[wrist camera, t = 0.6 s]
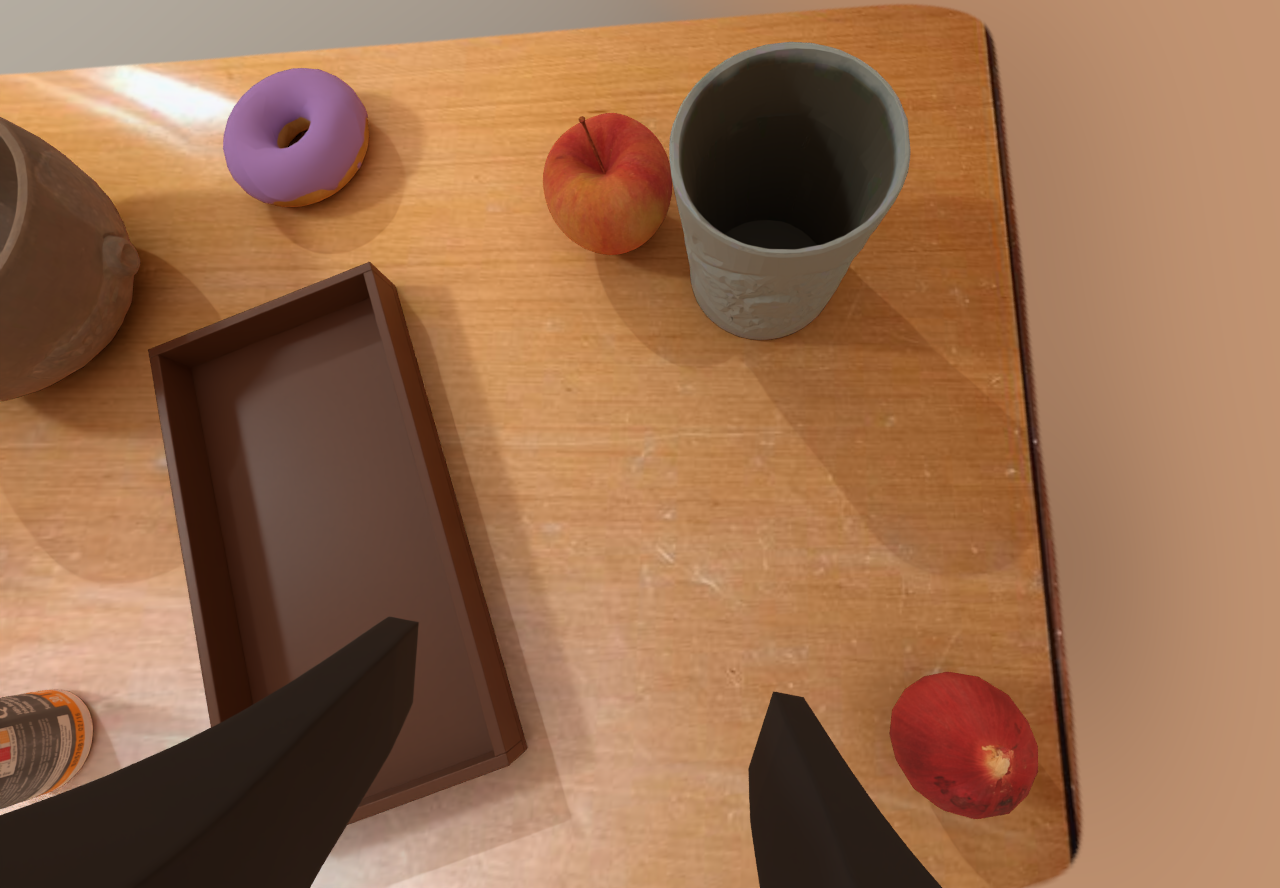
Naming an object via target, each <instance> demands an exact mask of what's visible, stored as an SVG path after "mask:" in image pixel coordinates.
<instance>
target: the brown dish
mask: <svg viewBox="0 0 1280 888" xmlns="http://www.w3.org/2000/svg"><path fill="white" fill-rule="evenodd" d="M148 352H149V357H150V363H151V369H152V375H153V381H154V387H155V393H156V399H157V405H158V412H159V418H160V424H161V430H162V436H163V442H164V448H165V454H166V460H167V466H168V472H169V478H170V484H171V490H172V496H173V502H174V508H175V514H176V520H177V526H178V532H179V538H180V544H181V550H182V556H183V562H184V568H185V574H186V580H187V586H188V592H189V598H190V604H191V610H192V616H193V622H194V628H195V634H196V640H197V646H198V652H199V658H200V664H201V670H202V676H203V682H204V688H205V694H206V700H207V706H208V712H209V718H210V724H211V727H213V726H215V725H217V724H219V723H221V722H223V721H225V720H227V719H228V718H230V717H232V716H234V715H236V714H238V713H239V712H241V711H243V710H245V709H246V708H248V707H250V706H252V705H253V704H255V703H257V702H258V701H260V700H262V699H263V698H265V697H267V696H268V695H270V694H272V693H273V692H275V691H277V690H278V689H280V688H282V687H283V686H285V685H287V684H288V683H290V682H291V681H293V680H295V679H296V678H298V677H299V676H301V675H302V674H304V673H305V672H307V671H308V670H310V669H311V668H313V667H314V666H316V665H318V664H319V663H321V662H322V661H324V660H325V659H327V658H328V657H330V656H331V655H333V654H334V653H336V652H337V651H338V650H340V649H341V648H343V647H344V646H346V645H347V644H349V643H350V642H352V641H353V640H355V639H356V638H357V637H359V636H360V635H362V634H363V633H365V632H366V631H368V630H369V629H370V628H372V627H373V626H375V625H376V624H378V623H379V622H381V621H382V620H384V619H386V618H387V617H389V616H390V617H395V618H400V619H405V620H410V621H415V622H419V626H418V640H417V654H416V668H415V681H414V695H413V704H412V706H411V708H410V711H409V713H408V715H407V717H406V720H405V722H404V724H403V726H402V729H401V731H400V733H399V735H398V737H397V739H396V742H395V744H394V746H393V748H392V750H391V752H390V754H389V756H388V757H387V759H386V761H385V762H384V764H383V766H382V767H381V769H380V771H379V773H378V774H377V776H376V778H375V779H374V781H373V783H372V784H371V786H370V788H369V789H368V791H367V793H366V794H365V796H364V798H363V799H362V801H361V803H360V804H359V806H358V807H357V809H356V811H355V812H354V814H353V816H352V817H351V819H350V821H349V822H348V824H351V823H354V822H357V821H359V820H362V819H365V818H367V817H370V816H373V815H376V814H378V813H381V812H384V811H387V810H389V809H392V808H395V807H397V806H400V805H403V804H406V803H408V802H411V801H414V800H416V799H419V798H422V797H425V796H427V795H430V794H433V793H436V792H438V791H441V790H444V789H446V788H449V787H452V786H455V785H457V784H460V783H463V782H465V781H468V780H471V779H474V778H476V777H479V776H482V775H485V774H487V773H490V772H493V771H495V770H498V769H501V768H504V767H506V766H509V765H510V764H511V763H512V762H513V761H514V760H516V759H517V758H518V757H519V756H520V755H521V754H522V753H523V752H524V751H525V750H526V749H527V745H526V741H525V738H524V734H523V731H522V727H521V724H520V721H519V717H518V714H517V710H516V707H515V703H514V700H513V696H512V693H511V689H510V686H509V682H508V679H507V675H506V672H505V668H504V665H503V661H502V658H501V654H500V651H499V647H498V644H497V640H496V637H495V633H494V630H493V626H492V623H491V619H490V616H489V612H488V609H487V605H486V602H485V598H484V595H483V591H482V588H481V584H480V581H479V577H478V574H477V570H476V567H475V563H474V560H473V556H472V553H471V549H470V546H469V542H468V539H467V535H466V532H465V528H464V525H463V521H462V518H461V514H460V511H459V507H458V504H457V500H456V497H455V493H454V490H453V486H452V483H451V479H450V476H449V472H448V469H447V465H446V462H445V458H444V455H443V451H442V448H441V445H440V441H439V438H438V434H437V431H436V427H435V424H434V420H433V417H432V413H431V410H430V406H429V403H428V399H427V396H426V392H425V389H424V385H423V382H422V378H421V375H420V371H419V368H418V364H417V361H416V357H415V354H414V350H413V347H412V343H411V340H410V336H409V333H408V329H407V326H406V322H405V319H404V315H403V312H402V308H401V305H400V301H399V298H398V294H397V291H396V287H395V285H394V284H393V283H392V282H390V280H389V279H388V278H386V277H385V276H384V275H383V274H382V273H381V272H380V271H379V270H378V269H377V268H376V267H375V266H374V265H373V264H371V263H370V262H368V263H366V264H363V265H360V266H358V267H355V268H353V269H350V270H348V271H345V272H343V273H340V274H338V275H335V276H333V277H330V278H328V279H325V280H323V281H320V282H318V283H315V284H313V285H310V286H307V287H305V288H302V289H300V290H297V291H295V292H292V293H290V294H287V295H285V296H282V297H280V298H277V299H275V300H272V301H270V302H267V303H265V304H262V305H260V306H257V307H254V308H252V309H249V310H247V311H244V312H242V313H239V314H237V315H234V316H232V317H229V318H227V319H224V320H222V321H219V322H217V323H214V324H212V325H209V326H207V327H204V328H202V329H199V330H196V331H194V332H191V333H189V334H186V335H184V336H181V337H179V338H176V339H174V340H171V341H169V342H166V343H164V344H161V345H159V346H156V347H154V348H151V349H149V350H148ZM348 824H347V825H348Z"/></svg>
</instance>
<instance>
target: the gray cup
mask: <svg viewBox="0 0 1280 888" xmlns="http://www.w3.org/2000/svg"><path fill="white" fill-rule="evenodd" d="M909 161H910V141H909V130H908V120H907V118H906V115H905V113H904V110H903V108H902V105H901V103H900V100H899V98H898V97H897V95H896V94H895V92H894V91H893V89H892V88H891V86H890V85H889V84H888V83H887V82H886V81H885V79H884V78H883V77H882V76H881V75H880V74H879V73H878V72H877V71H876V70H874V69H873V68H871V67H870V66H869V65H867V64H866V63H864V62H863V61H861V60H860V59H858V58H856V57H854V56H852V55H850V54H848V53H846V52H844V51H841V50H838V49H835V48H832V47H828V46H823V45H818V44H813V43H802V42H786V43H777V44H769V45H763V46H760V47H757V48H754V49H751V50H747V51H744V52H741V53H739V54H737V55H735V56H733V57H731V58H729V59H727V60H725V61H724V62H722V63H721V64H719V65H718V66H716V67H715V68H713V69H712V70H710V71H709V72H708V73H707V74H706V75H705V76H704V77H703V78H702V79H701V80H700V81H699V82H698V83H697V84H696V85H695V86H694V87H693V89H692V90H691V91H690V93H689V94H688V95H687V97H686V98H685V100H684V101H683V103H682V105H681V107H680V109H679V111H678V114H677V116H676V119H675V121H674V123H673V127H672V131H671V136H670V169H671V177H672V182H673V187H674V191H675V196H676V201H677V206H678V210H679V214H680V218H681V223H682V228H683V232H684V235H685V237H684V239H685V245H686V250H687V255H688V260H689V265H690V277H691V284H692V289H693V292H694V295H695V297H696V300H697V302H698V304H699V306H700V307H701V309H702V310H703V312H704V313H705V314H706V315H707V316H708V317H709V318H710V319H711V320H712V321H713V322H714V323H715V324H716V325H718V326H719V327H720V328H722V329H724V330H726V331H727V332H729V333H732V334H734V335H737V336H739V337H743V338H748V339H755V340H768V339H776V338H781V337H784V336H787V335H789V334H792V333H795V332H797V331H798V330H800V329H802V328H804V327H805V326H806V325H808V324H809V323H810V322H812V321H813V320H814V319H815V318H816V317H817V316H818V315H819V314H820V312H821V311H822V310H823V309H824V307H825V306H826V304H827V303H828V301H829V300H830V298H831V297H832V295H833V294H834V292H835V291H836V289H837V287H838V286H839V284H840V282H841V280H842V278H843V277H844V275H845V274H846V272H847V270H848V268H849V265H850V263H851V261H852V260H853V259H854V257H855V256H856V255H857V254H858V253H859V252H860V251H861V250H862V249H863V247H864V245H865V243H866V242H867V240H868V238H869V237H870V235H871V234H872V233H873V232H874V231H875V229H876V228H877V227H878V225H879V224H880V222H881V221H882V219H883V218H884V216H885V215H886V214H887V212H888V211H889V209H890V208H891V206H892V205H893V203H894V202H895V200H896V198H897V196H898V194H899V193H900V191H901V189H902V187H903V184H904V181H905V179H906V176H907V173H908V168H909Z"/></svg>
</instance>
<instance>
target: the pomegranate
mask: <svg viewBox="0 0 1280 888" xmlns="http://www.w3.org/2000/svg"><path fill="white" fill-rule="evenodd" d="M890 738H891V742H892V746H893V750H894V754H895V758H896V760H897V762H898V764H899V766H900V767H901V769H902V771H903V772H904V774H905V775H906V777H907V779H908V780H909V782H910V783H911V785H912V786H913V788H914V789H915V790H917V791H918V792H919V793H920V794H922V795H923V796H924V797H926V798H927V799H928V800H930V801H931V802H932V803H934V804H935V805H936V806H938V807H939V808H941V809H943V810H944V811H947V812H951V813H954V814H958V815H962V816H965V817H969V818H973V819H981V818H987V817H992V816H998V815H1004V814H1009V813H1010V812H1011V811H1012V810H1013V809H1014V808H1015V807H1016V806H1017V805H1018V804H1019V803H1020V802H1021V801H1022V800H1023V799H1024V798H1025V797H1026V796H1027V795H1028V794H1029V791H1030V789H1031V786H1032V784H1033V781H1034V779H1035V777H1036V775H1037V773H1038V746H1037V743H1036V741H1035V738H1034V736H1033V733H1032V730H1031V728H1030V725H1029V723H1028V721H1027V720H1026V718H1025V717H1024V716H1023V714H1022V713H1021V712H1020V710H1019V709H1018V708H1017V706H1016V705H1015V704H1014V702H1013V701H1012V699H1011V698H1010V697H1009V695H1007V694H1005V693H1004V692H1002V691H1001V690H999V689H997V688H996V687H994V686H992V685H991V684H989V683H988V682H986V681H984V680H983V679H981V678H979V677H976V676H970V675H964V674H958V673H952V672H943V673H939V674H934V675H929V676H924V677H923V678H921V679H920V680H918V681H917V682H915V683H914V684H912V685H911V686H909V687H908V688H906V689H905V690H904V692H903V693H902V695H901V696H900V698H899V700H898V701H897V703H896V704H895V706H894V708H893V709H892V717H891V726H890Z"/></svg>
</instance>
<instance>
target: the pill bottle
mask: <svg viewBox="0 0 1280 888" xmlns="http://www.w3.org/2000/svg"><path fill="white" fill-rule="evenodd" d="M92 737H93V724H92V719H91V715H90V712H89V710H88V708H87V706H86V705H85V704H84V703H83V701H82V700H81V699H80V698H79V697H77V696H76V695H74V694H72V693H70V692H68V691H65V690H57V689H53V690H44V691H37V692H30V693H26V694H20V695H14V696H8V697H2V698H0V809H2V808H6V807H8V806H11V805H14V804H17V803H19V802H23V801H26V800H29V799H31V798H34V797H37V796H40V795H43V794H46V793H48V792H51V791H54V790H56V789H58V788H60V787H61V786H63V785H64V784H65V783H67V782H68V781H69V780H70V779H72V778H73V777H74V775H75V774H76V773H77V772H78V771H79V770H80V768H81V767H82V766H83V764H84V762H85V760H86V758H87V756H88V754H89V751H90V747H91V744H92Z"/></svg>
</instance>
